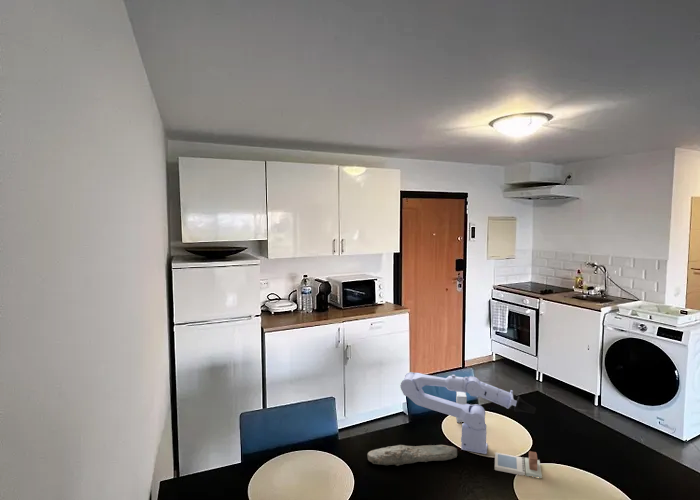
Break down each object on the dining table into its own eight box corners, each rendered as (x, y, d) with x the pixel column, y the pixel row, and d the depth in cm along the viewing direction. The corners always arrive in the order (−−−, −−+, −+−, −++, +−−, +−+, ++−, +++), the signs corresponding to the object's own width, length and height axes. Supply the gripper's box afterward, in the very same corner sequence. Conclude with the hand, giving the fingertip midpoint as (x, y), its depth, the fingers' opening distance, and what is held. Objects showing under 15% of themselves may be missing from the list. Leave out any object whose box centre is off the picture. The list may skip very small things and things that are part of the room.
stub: (525, 475, 138) (526, 461, 138) (524, 460, 147) (524, 446, 147) (541, 479, 136) (542, 464, 136) (539, 463, 145) (539, 449, 145)
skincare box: (466, 423, 176) (466, 397, 176) (456, 422, 177) (456, 396, 177) (465, 417, 182) (465, 391, 182) (455, 416, 183) (456, 391, 183)
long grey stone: (462, 466, 147) (451, 453, 156) (462, 451, 147) (452, 439, 157) (369, 469, 142) (365, 455, 151) (370, 454, 142) (365, 441, 152)
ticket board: (494, 469, 142) (494, 466, 142) (495, 455, 151) (495, 451, 151) (525, 475, 138) (525, 472, 138) (523, 460, 147) (523, 457, 147)
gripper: (501, 386, 147) (540, 401, 143) (497, 384, 160) (532, 398, 156) (496, 404, 146) (534, 420, 141) (492, 401, 159) (527, 415, 155)
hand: (533, 410), depth 149 cm, fingers open, 7 cm apart
